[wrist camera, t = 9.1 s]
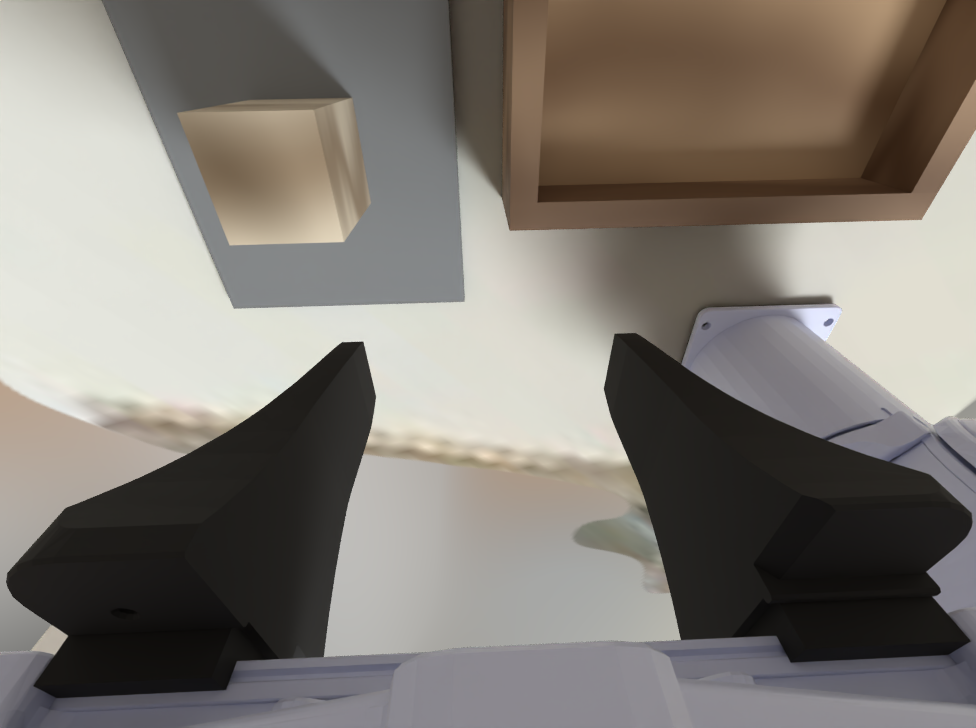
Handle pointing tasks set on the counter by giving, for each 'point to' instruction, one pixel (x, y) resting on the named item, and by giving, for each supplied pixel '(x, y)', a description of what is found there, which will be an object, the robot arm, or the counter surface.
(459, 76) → the counter surface
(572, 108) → the walnut crate
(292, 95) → the grey mat
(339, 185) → the birch block
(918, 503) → the robot arm
